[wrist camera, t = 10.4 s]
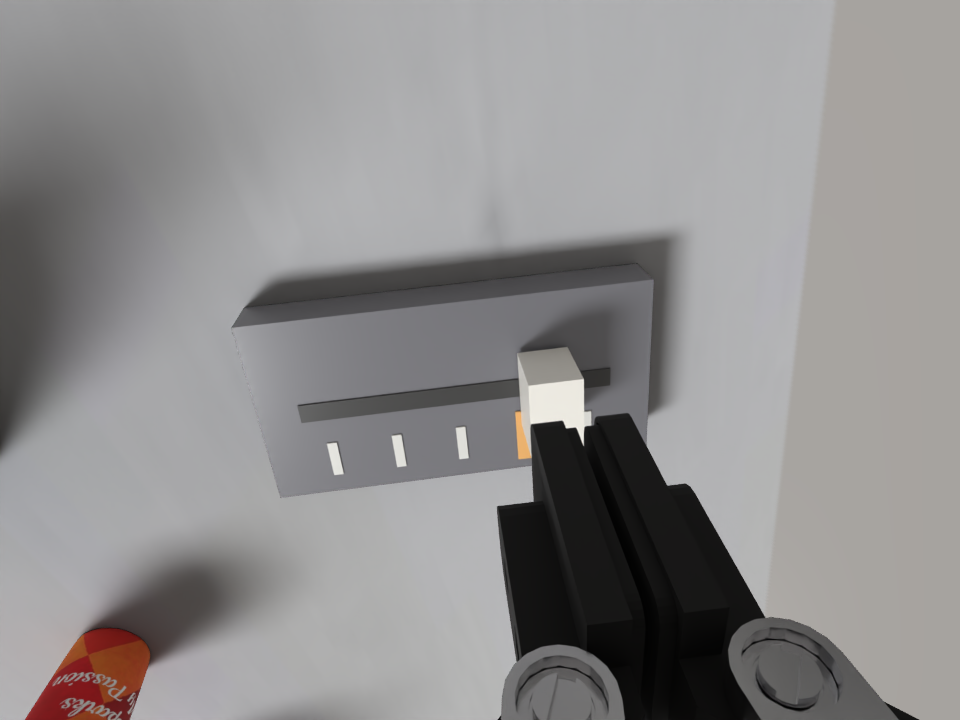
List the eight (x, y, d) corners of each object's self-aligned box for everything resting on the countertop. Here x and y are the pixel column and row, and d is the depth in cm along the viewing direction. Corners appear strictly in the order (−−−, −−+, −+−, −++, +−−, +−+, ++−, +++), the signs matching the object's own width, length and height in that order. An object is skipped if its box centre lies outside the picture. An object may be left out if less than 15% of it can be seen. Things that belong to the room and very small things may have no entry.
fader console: (244, 307, 38) (230, 328, 35) (637, 263, 39) (654, 280, 36) (288, 469, 43) (280, 498, 40) (631, 426, 44) (646, 451, 41)
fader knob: (517, 352, 37) (528, 385, 33) (567, 346, 37) (583, 379, 34) (521, 424, 39) (532, 462, 36) (568, 418, 39) (584, 455, 36)
